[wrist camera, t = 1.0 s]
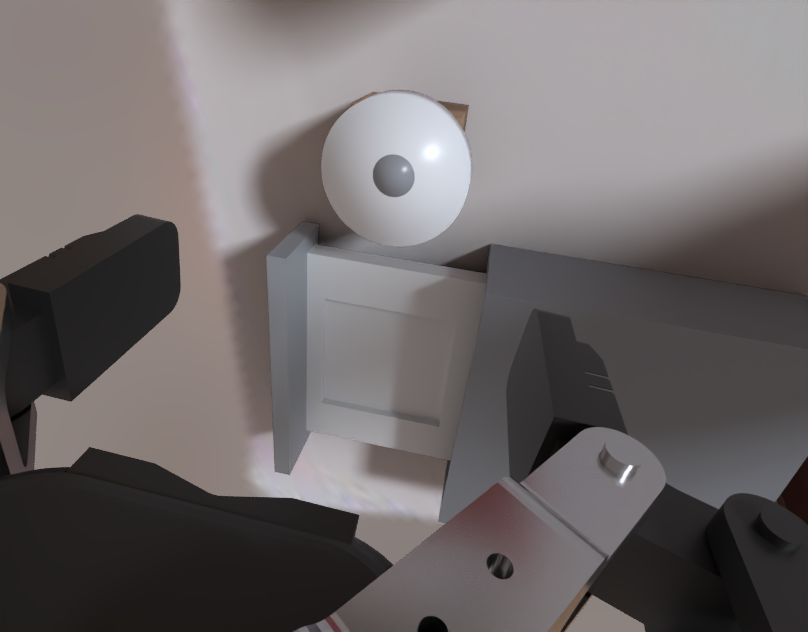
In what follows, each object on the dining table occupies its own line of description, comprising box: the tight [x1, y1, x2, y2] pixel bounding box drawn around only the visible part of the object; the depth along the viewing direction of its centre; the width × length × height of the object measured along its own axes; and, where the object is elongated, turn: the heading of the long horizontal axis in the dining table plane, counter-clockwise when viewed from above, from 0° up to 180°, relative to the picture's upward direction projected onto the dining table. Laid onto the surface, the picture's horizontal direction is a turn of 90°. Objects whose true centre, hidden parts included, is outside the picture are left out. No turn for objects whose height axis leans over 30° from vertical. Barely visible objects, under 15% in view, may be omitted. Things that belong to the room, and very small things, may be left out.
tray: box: [266, 222, 487, 475], centre depth 30 cm, size 16×15×5 cm
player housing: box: [438, 244, 808, 523], centre depth 29 cm, size 16×16×6 cm
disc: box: [321, 90, 472, 247], centre depth 22 cm, size 6×6×2 cm
